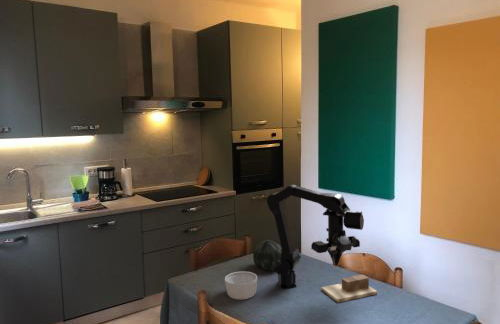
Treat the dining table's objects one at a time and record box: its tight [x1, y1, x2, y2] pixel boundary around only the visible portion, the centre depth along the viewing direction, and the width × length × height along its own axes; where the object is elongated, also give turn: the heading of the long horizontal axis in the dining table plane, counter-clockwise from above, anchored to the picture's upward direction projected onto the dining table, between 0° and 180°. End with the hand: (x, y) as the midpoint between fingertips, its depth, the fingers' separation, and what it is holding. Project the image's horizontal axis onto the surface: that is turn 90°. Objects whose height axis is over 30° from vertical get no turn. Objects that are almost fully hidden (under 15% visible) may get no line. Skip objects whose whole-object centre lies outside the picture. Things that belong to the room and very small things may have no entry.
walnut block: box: [341, 274, 370, 292], centre depth 162 cm, size 4×4×10 cm
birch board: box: [321, 282, 378, 303], centre depth 161 cm, size 18×12×1 cm, turn 110°
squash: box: [252, 239, 282, 272], centre depth 189 cm, size 14×15×15 cm
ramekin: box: [224, 271, 258, 301], centre depth 162 cm, size 13×13×7 cm
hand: (335, 265), depth 158 cm, fingers closed
